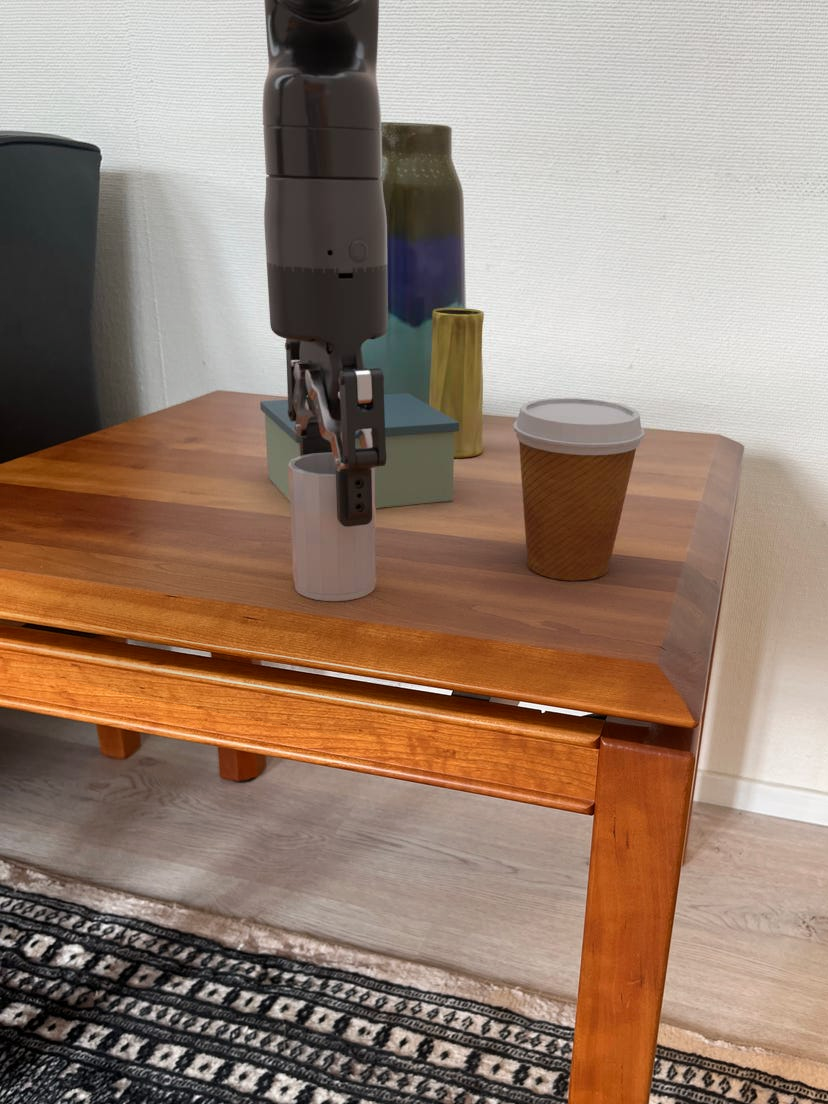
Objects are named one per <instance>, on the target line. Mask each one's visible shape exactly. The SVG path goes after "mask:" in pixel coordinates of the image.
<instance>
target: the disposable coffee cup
mask: <svg viewBox="0 0 828 1104" xmlns="http://www.w3.org/2000/svg"><path fill="white" fill-rule="evenodd" d="M512 425H513V426H512V427H513V430H514V432H515V437H516V439H517V441H518V445H519V446H518V447H519V456H520V457H519V460H520V473H521V476H520V477H521V488H522V493H521V494H522V506H523V508H522V509H523V520H524V533H525V534H524V535H525V549H526V560H527V561H526V564H527V567H528V568H529V569H530V570H531V571H533V572H534V573H536V574H539V575H541V576H544V577H546V578H550V579H554V580H563V581H585V580H593V579H597V578H600V577H602V576H605V574H607V573H608V572H609V569H610V564H611V559H612V556H613V552H614V549H615V542H616V540H617V534H618V532H619V531H618V530H619V525H620V522H621V517H622V513H623V508H624V503H625V500H626V496H627V495H626V494H627V490H628V485H629V482H630V477H631V473H632V469H633V465H634V461H635V456H636V455H635V454H636V451H637V448H638V447H639V446H640V444H641V440H642V439H644V437H645V433H646V432H645V429H644V428H643V427H642V422H641V414H640V413H639V411H638V410H637V409H635V408H634V407H631V406H629V405H626V404H623V403H619V402H613V401H607V400H604V399H603V400H602V399H593V398H583V397H552V398H551V397H550V398H543V399H541V398H540V399H534V400H530V401H527V402H525V403H523V404H522V405H521V407H520V410H519V412H518V416H517V419H516V420H515V421H514V422H513V424H512Z"/></svg>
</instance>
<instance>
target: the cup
mask: <svg viewBox="0 0 828 1104" xmlns="http://www.w3.org/2000/svg"><path fill="white" fill-rule="evenodd" d="M288 466H289V489H290V501H289V509H290V511H289V512H290V529H291V530H290V532H291V554H292V555H291V557H292V579H293V585H294V589H295V591H296V592H297V593H298V594H299V595H301V596H302V597H305V598H308V599H310V600H315V601H321V602H345V601H352V600H353V601H354V600H357V599H361V598H364V597H366V596H369V595H370V594H372V593H373V592H374V590H375V589H376V587H377V581H376V580H377V508H376V467H375V468H371V469H372V520H371V522H370V523H369V524H366V525H359V526H350V527H345V526H343V525H342V524H341V523H340V522H339V521H338V519H337V496H336V470H337V469H336V466H335V464H334V456H333V452H325V453H313V454H308V455H303V456H299V457H297V458H294V459H292V460H291V461H290V463H289V465H288Z"/></svg>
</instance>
